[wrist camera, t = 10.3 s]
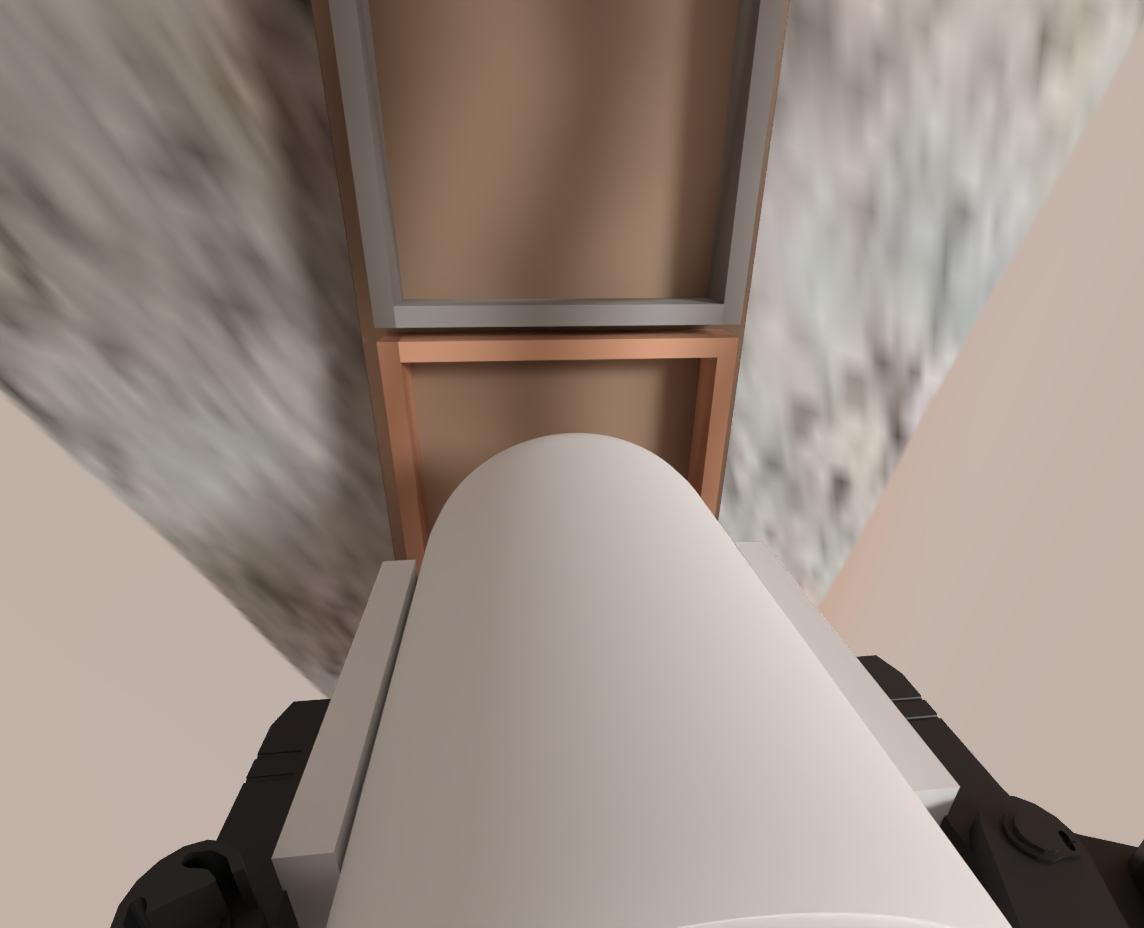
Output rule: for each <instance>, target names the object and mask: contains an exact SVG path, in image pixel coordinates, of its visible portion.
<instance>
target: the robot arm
mask: <svg viewBox="0 0 1144 928" xmlns="http://www.w3.org/2000/svg"><path fill="white" fill-rule="evenodd" d="M735 546H736V547H737V548H738V550H739V551H740V553H741V554H742V555H743V557H744V558H745V559H746V561H747V562H748V564H749V565H750V566H751V568H752V569H753V570H754V572H755V573H756V575H757V576H758V577H759V579H760V580H761V582H762V583H763V584H764V586H765V587H766V588H767V590H768V591H769V593H770V594H771V595H772V597H773V598H774V599H775V601H776V602H777V604H778V605H779V606H780V608H781V609H782V610H783V612H784V613H785V615H786V616H787V617H788V619H789V620H790V621H791V623H792V624H793V626H794V627H795V628H796V630H797V631H798V633H799V634H800V635H801V637H802V638H803V639H804V641H805V642H806V644H807V645H808V646H809V648H810V649H811V650H812V652H813V653H814V655H815V656H816V657H817V659H818V660H819V661H820V663H821V664H822V666H823V667H824V668H825V670H826V671H827V672H828V674H829V675H830V677H831V678H832V679H833V681H834V682H835V684H836V685H837V686H838V688H839V689H840V690H841V692H842V693H843V695H844V696H845V697H846V699H847V700H848V701H849V703H850V704H851V706H852V707H853V708H854V710H855V711H856V712H857V714H858V715H859V717H860V718H861V719H862V721H863V722H864V723H865V725H866V726H867V728H868V729H869V730H870V732H871V733H872V735H873V736H874V737H875V739H876V740H877V741H878V743H879V744H880V746H881V747H882V748H883V750H884V751H885V752H886V754H887V755H888V757H889V758H890V759H891V761H892V762H893V763H894V765H895V766H896V768H897V769H898V770H899V772H900V773H901V774H902V776H903V777H904V779H905V780H906V781H907V783H908V784H909V786H910V787H911V788H912V790H913V791H914V792H915V794H916V795H917V797H918V798H919V799H920V801H921V802H922V803H923V805H924V806H925V808H926V809H927V810H928V812H929V813H930V814H931V816H932V817H933V819H934V820H935V821H936V823H937V824H938V825H939V827H940V828H941V830H942V831H943V832H944V834H945V835H946V837H947V838H948V839H949V841H950V842H951V843H952V845H953V846H954V848H955V849H956V850H957V852H958V853H959V854H960V856H961V857H962V859H963V860H964V861H965V863H966V864H967V865H968V867H969V868H970V870H971V871H972V872H973V874H974V875H975V876H976V878H977V879H978V881H979V882H980V883H981V885H982V886H983V888H984V889H985V890H986V892H987V893H988V894H989V896H990V897H991V899H992V900H993V901H994V903H995V904H996V906H997V907H998V908H999V910H1000V911H1001V913H1002V914H1003V915H1004V917H1005V918H1006V920H1007V921H1008V922H1009V924H1010V925H1011V927H1012V928H1144V840H1143V842H1142V843H1141V844H1140V846H1139V847H1134V846H1130V845H1124V844H1120V843H1116V842H1111V841H1106V840H1102V839H1097V838H1092V837H1087V836H1083V835H1079V834H1075V833H1073V832H1072V831H1071V830H1070V829H1069V828H1068V827H1067V826H1065V825H1064V824H1063V823H1062V822H1061V821H1060V820H1059V819H1058V818H1057V817H1055V816H1054V815H1052V814H1050V813H1049V812H1047V811H1045V810H1044V809H1042V808H1041V807H1039V806H1037V805H1036V804H1034V803H1031V802H1028V801H1026V800H1023V799H1020V798H1018V797H1015V796H1009V795H1008V794H1007V793H1006V792H1005V791H1004V790H1003V789H1002V787H1001V786H1000V785H999V784H998V783H997V782H996V781H995V780H994V778H993V777H992V776H991V775H990V774H989V773H988V772H987V770H986V769H985V768H984V767H983V766H982V765H981V764H980V762H979V761H978V760H977V759H976V758H975V757H974V756H973V754H972V753H971V752H970V751H969V750H968V749H967V748H966V746H965V745H964V744H963V743H962V742H961V741H960V739H959V738H958V737H957V736H956V735H955V734H954V733H953V731H952V730H951V729H950V728H949V727H948V726H947V725H946V723H945V722H944V721H943V720H942V719H941V718H938V717H937V713H936V712H935V711H934V710H933V709H932V707H931V706H930V705H929V704H928V703H927V702H926V701H925V700H922V698H921V695H920V694H919V693H918V692H917V690H916V689H915V688H914V687H913V686H912V685H911V683H910V682H909V681H908V680H907V679H906V678H905V676H904V675H903V674H902V673H900V672H899V671H898V670H896V669H895V668H893V667H892V666H891V665H889V664H887V663H886V662H885V661H883V660H882V659H881V658H879V657H878V656H876V655H874V656H861V657H856V656H855V655H854V654H853V652H852V651H851V650H850V649H849V647H848V646H847V645H846V644H845V642H844V641H843V640H842V639H841V637H840V636H839V635H838V634H837V633H836V631H835V630H834V629H833V628H832V626H831V625H830V624H829V623H828V621H827V620H826V619H825V617H824V616H823V615H822V614H821V612H820V611H819V610H818V609H817V607H816V606H815V605H814V604H813V602H812V601H811V600H810V599H809V597H808V596H807V595H806V594H805V592H804V591H803V590H802V589H801V587H800V586H799V585H798V584H797V583H796V581H795V580H794V579H793V578H792V576H791V575H790V574H789V573H788V571H787V570H786V569H785V568H784V566H783V565H782V564H781V563H780V561H779V560H778V559H777V558H776V556H775V555H774V554H773V553H772V551H771V550H770V549H769V548H768V546H767V545H766V544H765V543H764V541H758V542H739V543H735ZM417 580H418V575H417V567H416V560H399V561H383V562H382V565H381V568H380V570H379V573H378V576H377V578H376V581H375V584H374V586H373V589H372V592H371V594H370V597H369V600H368V602H367V605H366V608H365V610H364V613H363V616H362V618H361V621H360V624H359V626H358V629H357V632H356V634H355V637H354V640H353V642H352V645H351V648H350V650H349V653H348V656H347V658H346V661H345V664H344V666H343V669H342V672H341V674H340V677H339V680H338V682H337V685H336V688H335V690H334V693H333V696H332V698H331V699H323V700H309V701H297V702H293V703H292V704H291V705H290V706H289V707H288V708H287V709H286V710H285V711H284V712H283V714H282V715H281V716H280V717H279V718H278V719H277V720H276V721H275V722H274V723H273V724H272V725H271V727H270V729H269V731H268V733H267V735H266V737H265V739H264V741H263V743H262V746H261V748H260V750H259V752H258V757H257V759H256V760H254V762H253V764H252V767H251V769H250V771H249V773H248V775H247V777H246V778H247V780H246V783H244V784H243V786H242V788H241V790H240V792H239V794H238V796H237V798H236V800H235V802H234V805H233V807H232V809H231V811H230V813H229V815H228V817H227V819H226V821H225V823H224V826H223V828H222V830H221V832H220V834H219V836H218V838H217V840H216V841H214V840H205V841H202V842H198V843H195V844H191V845H188V846H184V847H182V848H181V849H179V850H177V851H175V852H174V853H172V854H170V855H168V856H167V857H165V858H163V859H161V860H160V861H159V862H157V863H156V864H155V865H154V866H153V867H152V868H151V869H150V870H148V871H147V872H146V873H145V874H144V875H143V876H142V877H141V878H140V879H138V880H137V881H136V883H135V884H134V885H133V887H132V888H131V890H130V891H129V892H128V894H127V895H126V896H125V898H124V899H123V901H122V902H121V903H120V905H119V906H118V909H117V912H116V914H115V917H114V920H113V922H112V925H111V927H110V928H326V926H327V922H328V918H329V915H330V911H331V907H332V903H333V899H334V896H335V892H336V888H337V884H338V880H339V877H340V873H341V869H342V865H343V861H344V858H345V854H346V850H347V846H348V842H349V839H350V835H351V831H352V827H353V823H354V820H355V816H356V812H357V808H358V804H359V801H360V797H361V793H362V789H363V785H364V782H365V778H366V774H367V770H368V766H369V763H370V759H371V755H372V751H373V747H374V744H375V740H376V736H377V732H378V728H379V725H380V721H381V717H382V713H383V709H384V706H385V702H386V698H387V694H388V690H389V687H390V683H391V679H392V675H393V671H394V668H395V664H396V660H397V656H398V652H399V649H400V645H401V641H402V637H403V633H404V630H405V626H406V622H407V618H408V614H409V611H410V607H411V603H412V599H413V595H414V592H415V588H416V584H417Z"/></svg>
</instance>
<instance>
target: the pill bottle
mask: <svg viewBox="0 0 1144 928" xmlns="http://www.w3.org/2000/svg"><path fill="white" fill-rule="evenodd" d="M326 928H1012V927H1011V925H1010V924H1009V922H1008V921H1007V920H1006V918H1005V917H1004V915H1003V914H1002V913H1001V911H1000V910H999V908H998V907H997V906H996V904H995V903H994V901H993V900H992V899H991V897H990V896H989V894H988V893H987V892H986V890H985V889H984V888H983V886H982V885H981V883H980V882H979V881H978V879H977V878H976V876H975V875H974V874H973V872H972V871H971V870H970V868H969V867H968V865H967V864H966V863H965V861H964V860H963V859H962V857H961V856H960V854H959V853H958V852H957V850H956V849H955V848H954V846H953V845H952V843H951V842H950V841H949V839H948V838H947V837H946V835H945V834H944V832H943V831H942V830H941V828H940V827H939V825H938V824H937V823H936V821H935V820H934V819H933V817H932V816H931V814H930V813H929V812H928V810H927V809H926V808H925V806H924V805H923V803H922V802H921V801H920V799H919V798H918V797H917V795H916V794H915V792H914V791H913V790H912V788H911V787H910V786H909V784H908V783H907V781H906V780H905V779H904V777H903V776H902V774H901V773H900V772H899V770H898V769H897V768H896V766H895V765H894V763H893V762H892V761H891V759H890V758H889V757H888V755H887V754H886V752H885V751H884V750H883V748H882V747H881V746H880V744H879V743H878V741H877V740H876V739H875V737H874V736H873V735H872V733H871V732H870V730H869V729H868V728H867V726H866V725H865V723H864V722H863V721H862V719H861V718H860V717H859V715H858V714H857V712H856V711H855V710H854V708H853V707H852V706H851V704H850V703H849V701H848V700H847V699H846V697H845V696H844V695H843V693H842V692H841V690H840V689H839V688H838V686H837V685H836V684H835V682H834V681H833V679H832V678H831V677H830V675H829V674H828V672H827V671H826V670H825V668H824V667H823V666H822V664H821V663H820V661H819V660H818V659H817V657H816V656H815V655H814V653H813V652H812V650H811V649H810V648H809V646H808V645H807V644H806V642H805V641H804V639H803V638H802V637H801V635H800V634H799V633H798V631H797V630H796V628H795V627H794V626H793V624H792V623H791V621H790V620H789V619H788V617H787V616H786V615H785V613H784V612H783V610H782V609H781V608H780V606H779V605H778V604H777V602H776V601H775V599H774V598H773V597H772V595H771V594H770V593H769V591H768V590H767V588H766V587H765V586H764V584H763V583H762V582H761V580H760V579H759V577H758V576H757V575H756V573H755V572H754V570H753V569H752V568H751V566H750V565H749V564H748V562H747V561H746V559H745V558H744V557H743V555H742V554H741V553H740V551H739V550H738V548H737V547H736V546H735V544H734V543H733V542H732V540H731V539H730V537H729V536H728V535H727V533H726V532H725V531H724V529H723V528H722V526H721V525H720V524H719V522H718V521H717V519H716V518H715V517H714V515H713V514H712V513H711V511H710V510H709V508H708V507H707V506H706V504H705V503H704V502H703V500H702V499H701V497H700V496H699V495H698V493H697V492H696V491H695V489H694V488H693V487H692V486H691V485H690V484H689V482H688V481H687V480H686V479H685V478H684V477H683V476H681V475H680V474H679V473H678V472H677V471H676V470H675V469H674V468H673V467H672V466H670V465H669V464H668V463H667V462H665V461H664V460H663V459H661V458H660V457H658V456H657V455H655V454H654V453H652V452H650V451H648V450H646V449H645V448H643V447H640V446H638V445H636V444H633V443H631V442H628V441H625V440H622V439H619V438H615V437H611V436H606V435H600V434H591V433H563V434H554V435H548V436H543V437H539V438H535V439H531V440H528V441H525V442H522V443H520V444H517V445H515V446H512V447H510V448H508V449H506V450H504V451H502V452H500V453H498V454H496V455H495V456H493V457H492V458H490V459H488V460H487V461H485V462H484V463H483V464H481V465H480V466H479V467H477V468H476V469H475V470H474V471H473V472H472V473H470V474H469V475H468V476H467V477H466V478H465V479H464V480H463V481H462V482H461V484H460V485H459V486H458V487H457V488H456V489H455V491H454V492H453V493H452V495H451V496H450V497H449V499H448V500H447V502H446V504H445V505H444V507H443V509H442V510H441V512H440V514H439V516H438V518H437V521H436V522H435V525H434V527H433V529H432V531H431V534H430V536H429V539H428V543H427V546H426V550H425V554H424V557H423V561H422V565H421V569H420V573H419V576H418V580H417V584H416V588H415V592H414V595H413V599H412V603H411V607H410V611H409V614H408V618H407V622H406V626H405V630H404V633H403V637H402V641H401V645H400V649H399V652H398V656H397V660H396V664H395V668H394V671H393V675H392V679H391V683H390V687H389V690H388V694H387V698H386V702H385V706H384V709H383V713H382V717H381V721H380V725H379V728H378V732H377V736H376V740H375V744H374V747H373V751H372V755H371V759H370V763H369V766H368V770H367V774H366V778H365V782H364V785H363V789H362V793H361V797H360V801H359V804H358V808H357V812H356V816H355V820H354V823H353V827H352V831H351V835H350V839H349V842H348V846H347V850H346V854H345V858H344V861H343V865H342V869H341V873H340V877H339V880H338V884H337V888H336V892H335V896H334V899H333V903H332V907H331V911H330V915H329V918H328V922H327V926H326Z"/></svg>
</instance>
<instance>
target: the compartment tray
mask: <svg viewBox="0 0 1144 928" xmlns="http://www.w3.org/2000/svg"><path fill="white" fill-rule="evenodd" d="M789 4H790V0H311V6H312V12H313V19H314V26H315V32H316V39H317V45H318V52H319V59H320V65H321V72H322V79H323V85H324V92H325V98H326V105H327V112H328V118H329V125H330V131H331V138H332V145H333V151H334V158H335V164H336V171H337V178H338V184H339V191H340V197H341V204H342V211H343V217H344V224H345V231H346V237H347V244H348V250H349V257H350V264H351V270H352V277H353V283H354V290H355V297H356V303H357V310H358V316H359V323H360V330H361V336H362V343H363V349H364V356H365V363H366V369H367V376H368V383H369V389H370V396H371V402H372V409H373V416H374V422H375V429H376V435H377V442H378V449H379V455H380V462H381V468H382V475H383V482H384V488H385V495H386V501H387V508H388V515H389V521H390V528H391V535H392V541H393V548H394V554H395V561H399V560H416V567H417V575H418V576H419V573H420V569H421V565H422V561H423V557H424V554H425V550H426V546H427V543H428V539H429V536H430V534H431V531H432V529H433V527H434V525H435V522H436V521H437V518H438V516H439V514H440V512H441V510H442V509H443V507H444V505H445V504H446V502H447V500H448V499H449V497H450V496H451V495H452V493H453V492H454V491H455V489H456V488H457V487H458V486H459V485H460V484H461V482H462V481H463V480H464V479H465V478H466V477H467V476H468V475H469V474H470V473H472V472H473V471H474V470H475V469H476V468H477V467H479V466H480V465H481V464H483V463H484V462H485V461H487V460H488V459H490V458H492V457H493V456H495V455H496V454H498V453H500V452H502V451H504V450H506V449H508V448H510V447H512V446H515V445H517V444H520V443H522V442H525V441H528V440H531V439H535V438H539V437H543V436H548V435H554V434H563V433H591V434H600V435H606V436H611V437H615V438H619V439H622V440H625V441H628V442H631V443H633V444H636V445H638V446H640V447H643V448H645V449H646V450H648V451H650V452H652V453H654V454H655V455H657V456H658V457H660V458H661V459H663V460H664V461H665V462H667V463H668V464H669V465H670V466H672V467H673V468H674V469H675V470H676V471H677V472H678V473H679V474H680V475H681V476H683V477H684V478H685V479H686V480H687V481H688V482H689V484H690V485H691V486H692V487H693V488H694V489H695V491H696V492H697V493H698V495H699V496H700V497H701V499H702V500H703V502H704V503H705V504H706V506H707V507H708V508H709V510H710V511H711V513H712V514H713V515H714V517H715V518H716V519H717V521H718V518H719V511H720V504H721V496H722V489H723V482H724V475H725V467H726V460H727V453H728V446H729V438H730V431H731V424H732V417H733V409H734V402H735V395H736V388H737V380H738V373H739V366H740V359H741V351H742V344H743V337H744V330H745V322H746V315H747V308H748V301H749V293H750V286H751V279H752V272H753V264H754V257H755V250H756V243H757V235H758V228H759V221H760V214H761V206H762V199H763V192H764V185H765V177H766V170H767V163H768V156H769V148H770V141H771V134H772V127H773V119H774V112H775V105H776V98H777V90H778V83H779V76H780V69H781V61H782V54H783V47H784V40H785V32H786V25H787V18H788V11H789Z"/></svg>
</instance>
